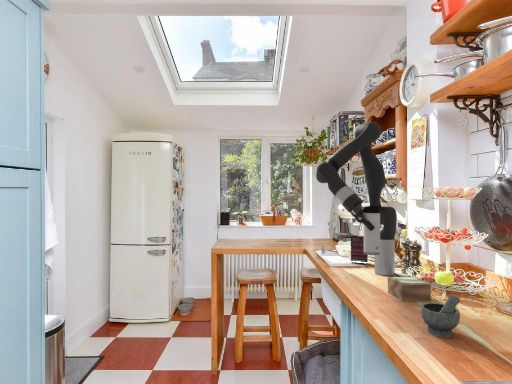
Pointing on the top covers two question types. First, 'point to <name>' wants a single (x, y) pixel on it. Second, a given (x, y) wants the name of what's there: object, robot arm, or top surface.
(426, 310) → the mortar and pestle
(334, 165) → the robot arm
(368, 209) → the travel mug
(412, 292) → the block
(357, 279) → the top surface
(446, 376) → the top surface
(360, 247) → the supplement box
